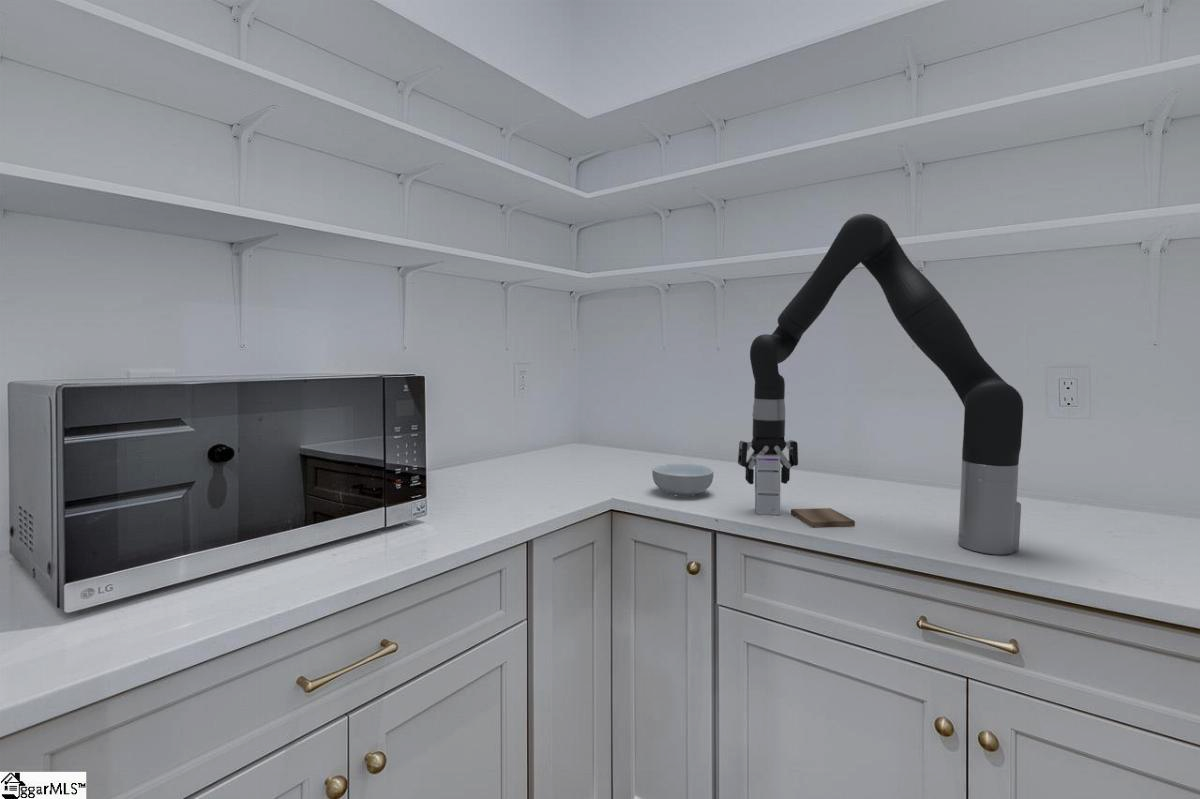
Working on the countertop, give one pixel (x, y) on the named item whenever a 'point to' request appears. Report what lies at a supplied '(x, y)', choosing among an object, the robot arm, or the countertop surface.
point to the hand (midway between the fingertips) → (767, 483)
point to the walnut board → (822, 517)
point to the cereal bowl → (682, 478)
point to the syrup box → (767, 484)
